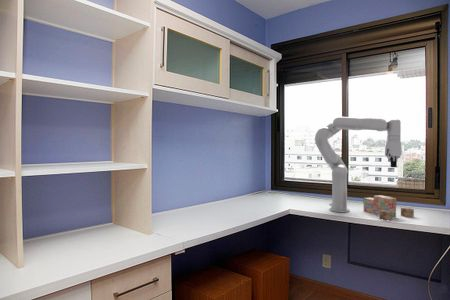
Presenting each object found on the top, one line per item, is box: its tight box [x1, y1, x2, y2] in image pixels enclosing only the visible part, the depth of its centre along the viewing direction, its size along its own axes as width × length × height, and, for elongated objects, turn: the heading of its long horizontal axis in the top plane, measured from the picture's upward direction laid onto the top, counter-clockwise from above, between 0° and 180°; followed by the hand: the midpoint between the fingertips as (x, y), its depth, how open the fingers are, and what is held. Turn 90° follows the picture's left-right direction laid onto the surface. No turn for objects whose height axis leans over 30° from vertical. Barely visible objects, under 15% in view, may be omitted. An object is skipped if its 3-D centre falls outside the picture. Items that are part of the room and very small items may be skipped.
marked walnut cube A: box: [379, 210, 393, 221], centre depth 180 cm, size 5×5×5 cm
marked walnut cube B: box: [400, 207, 415, 218], centre depth 188 cm, size 5×5×5 cm
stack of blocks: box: [362, 194, 397, 218], centre depth 194 cm, size 21×6×12 cm, turn 16°
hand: (393, 167), depth 190 cm, fingers closed
